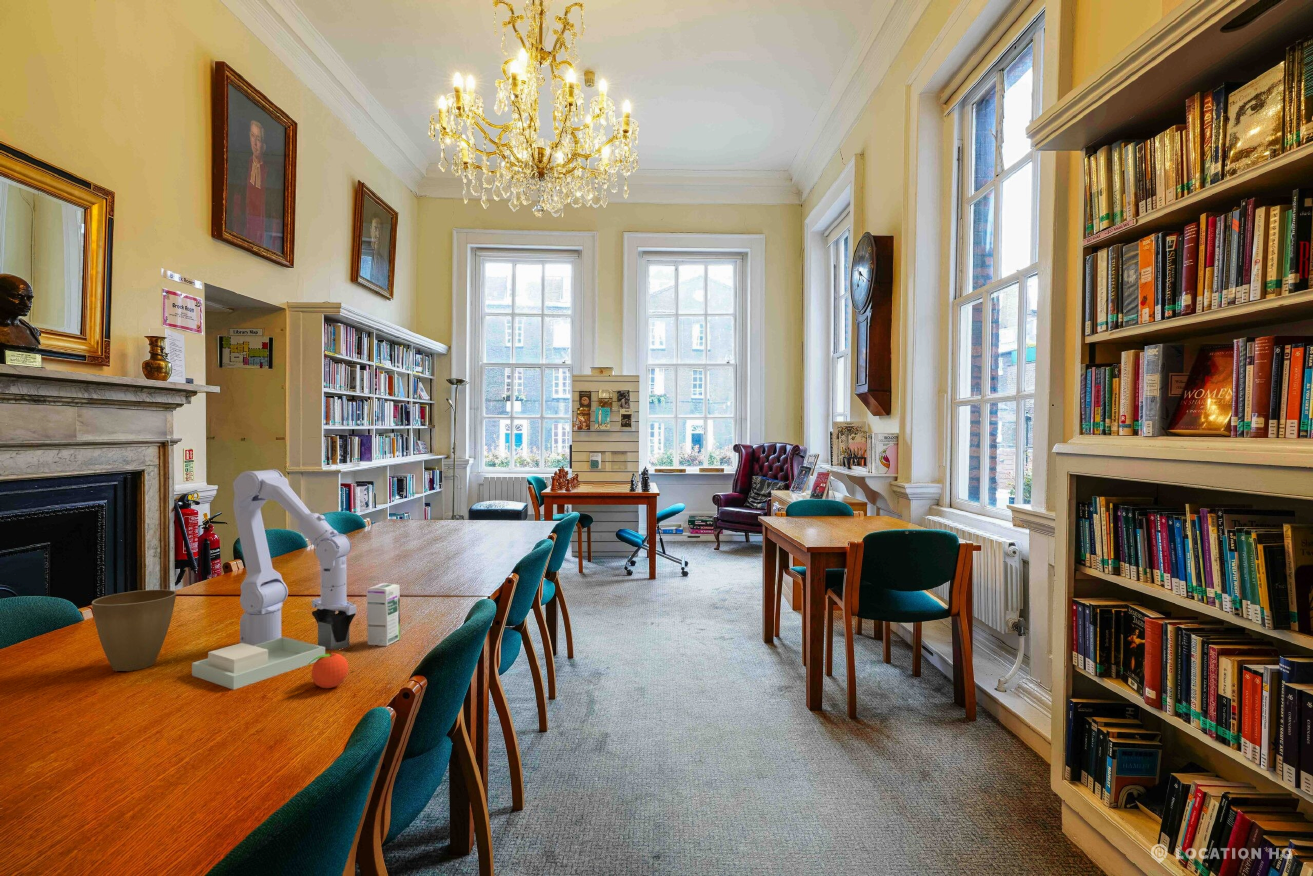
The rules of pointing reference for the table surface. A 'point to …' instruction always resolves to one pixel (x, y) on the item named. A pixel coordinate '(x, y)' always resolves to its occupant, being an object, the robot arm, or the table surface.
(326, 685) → the clementine
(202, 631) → the table surface
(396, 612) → the syrup box
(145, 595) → the plant pot
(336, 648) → the tin
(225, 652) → the off-white block
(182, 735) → the table surface
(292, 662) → the pale green tray
